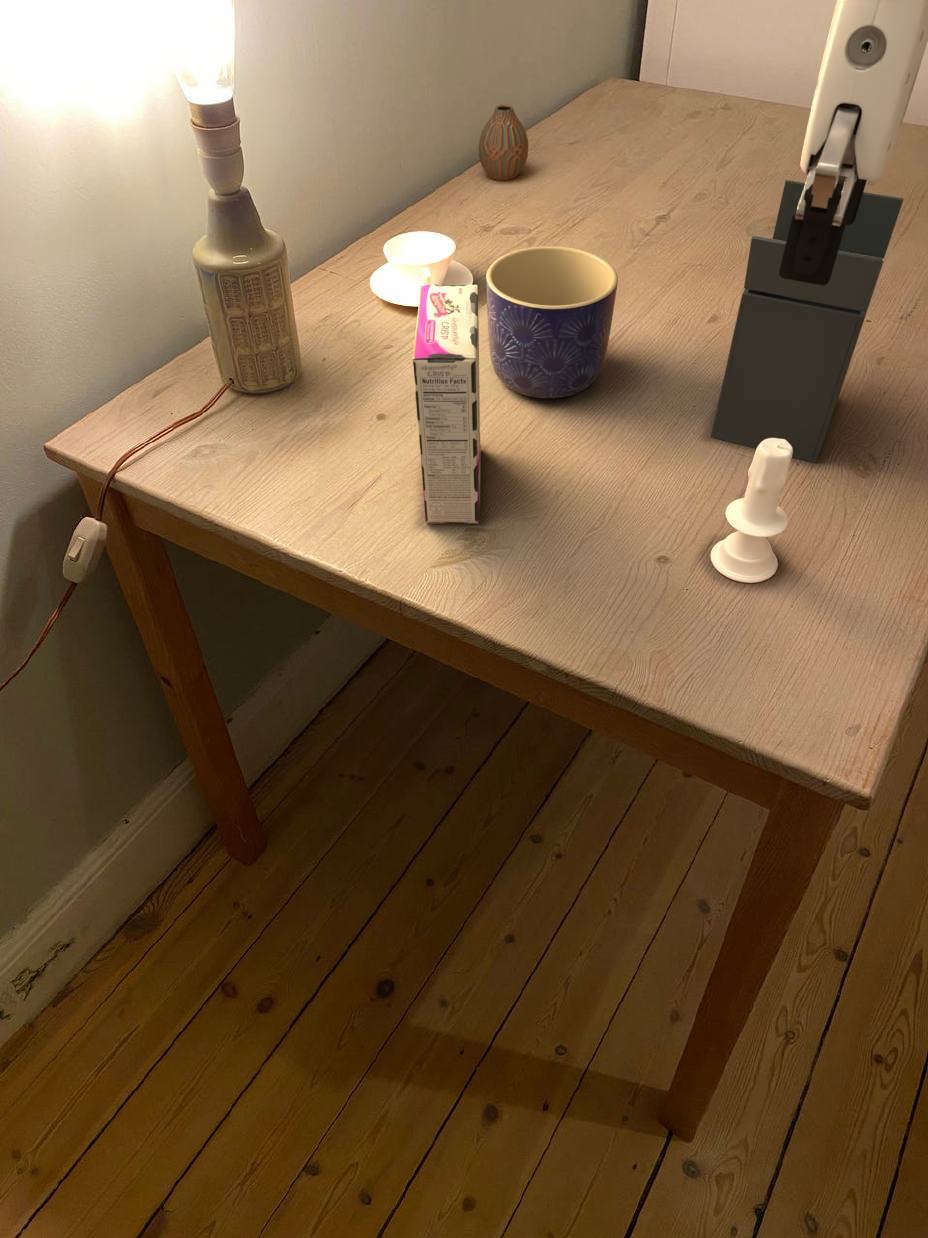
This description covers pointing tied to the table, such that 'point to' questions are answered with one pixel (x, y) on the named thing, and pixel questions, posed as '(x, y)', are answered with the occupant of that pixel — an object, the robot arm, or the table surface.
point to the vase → (503, 144)
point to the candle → (756, 517)
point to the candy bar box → (448, 402)
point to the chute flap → (843, 289)
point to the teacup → (417, 267)
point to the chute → (796, 345)
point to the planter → (549, 319)
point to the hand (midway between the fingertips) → (817, 248)
